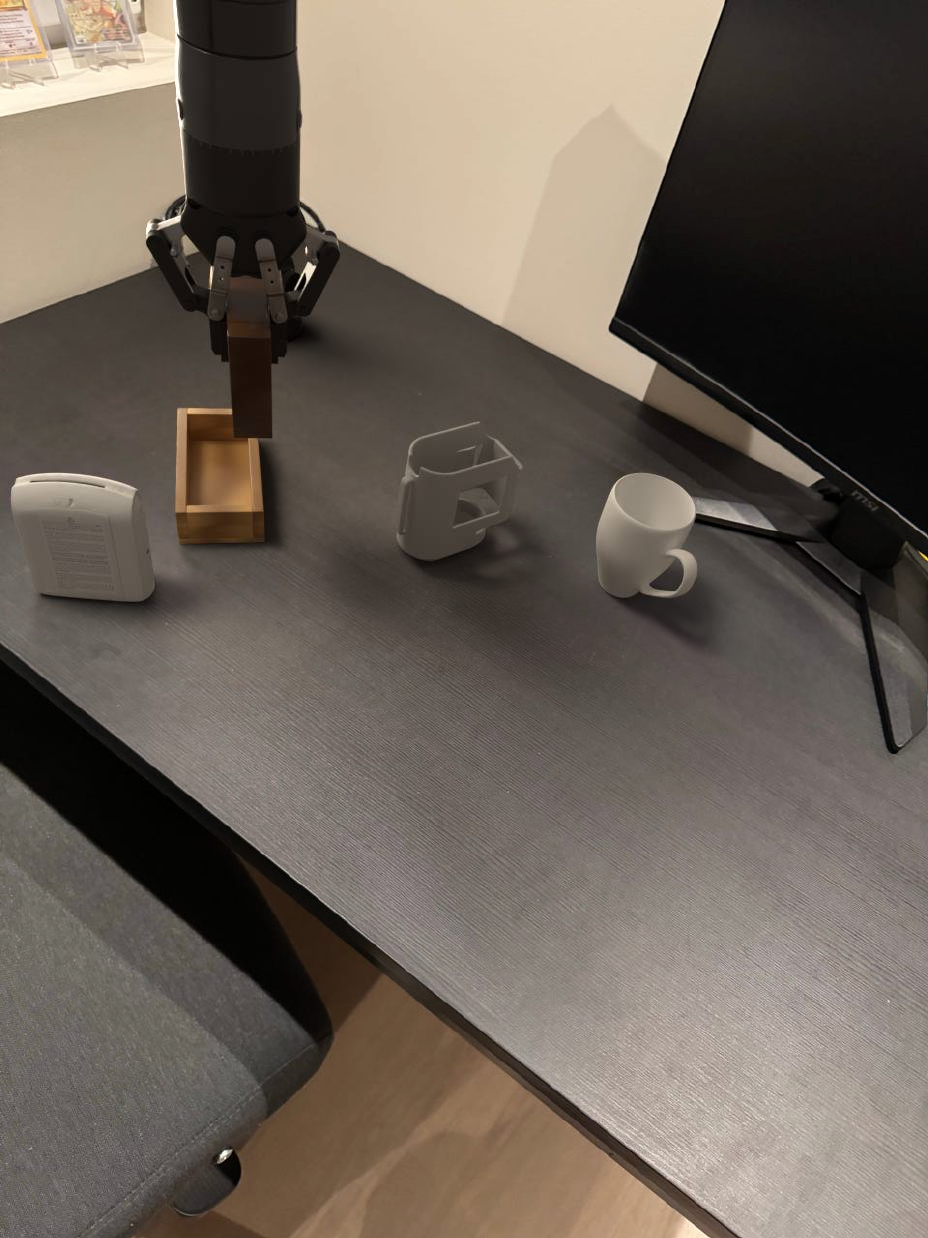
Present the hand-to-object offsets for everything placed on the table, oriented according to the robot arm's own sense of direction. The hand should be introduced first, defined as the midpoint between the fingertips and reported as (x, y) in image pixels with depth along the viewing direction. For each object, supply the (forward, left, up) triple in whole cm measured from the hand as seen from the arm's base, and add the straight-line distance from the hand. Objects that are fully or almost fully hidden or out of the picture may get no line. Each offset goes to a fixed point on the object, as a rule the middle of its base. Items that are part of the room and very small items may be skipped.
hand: (249, 356), depth 66 cm
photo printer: (-14, -4, -22) cm, 26 cm away
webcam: (+4, +40, -22) cm, 45 cm away
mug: (+37, -8, -22) cm, 43 cm away
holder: (-3, +9, -21) cm, 23 cm away
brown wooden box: (0, 0, -4) cm, 4 cm away
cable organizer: (+20, +1, -22) cm, 29 cm away
